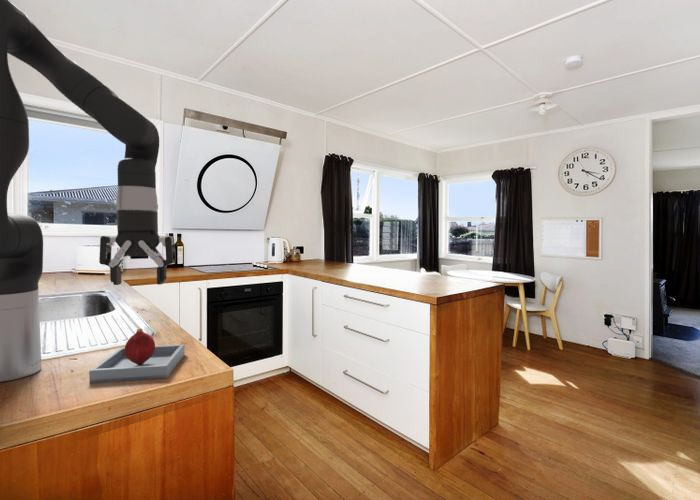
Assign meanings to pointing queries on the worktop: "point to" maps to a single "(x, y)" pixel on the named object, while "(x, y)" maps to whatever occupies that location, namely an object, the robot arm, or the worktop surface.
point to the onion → (139, 347)
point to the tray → (125, 370)
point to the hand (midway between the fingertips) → (139, 284)
